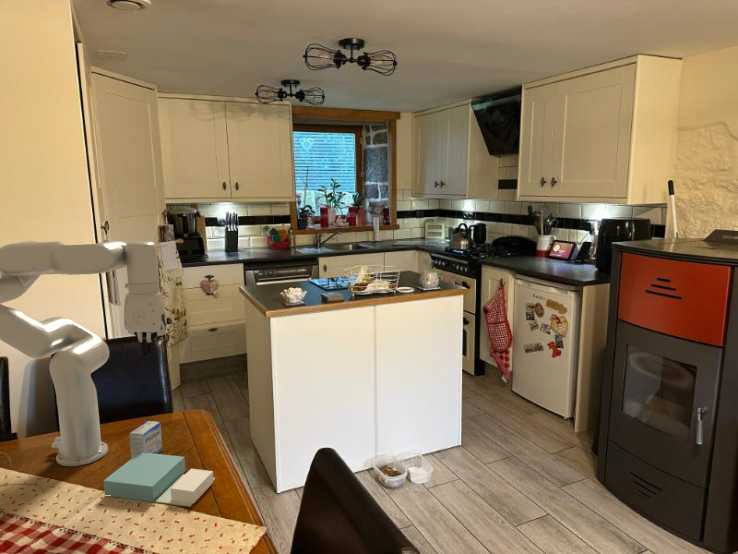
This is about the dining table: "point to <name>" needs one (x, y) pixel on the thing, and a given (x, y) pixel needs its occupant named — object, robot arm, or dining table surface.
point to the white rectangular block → (192, 485)
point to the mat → (167, 497)
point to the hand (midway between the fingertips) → (148, 355)
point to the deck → (145, 476)
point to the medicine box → (146, 439)
